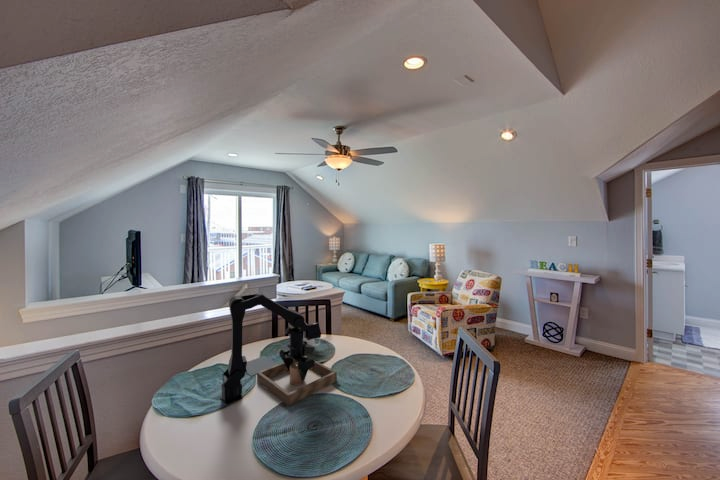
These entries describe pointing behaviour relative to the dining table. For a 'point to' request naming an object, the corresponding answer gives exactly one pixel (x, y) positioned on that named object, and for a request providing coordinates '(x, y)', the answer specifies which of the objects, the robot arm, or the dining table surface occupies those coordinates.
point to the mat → (259, 365)
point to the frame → (299, 393)
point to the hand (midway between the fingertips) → (296, 376)
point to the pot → (295, 374)
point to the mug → (311, 342)
